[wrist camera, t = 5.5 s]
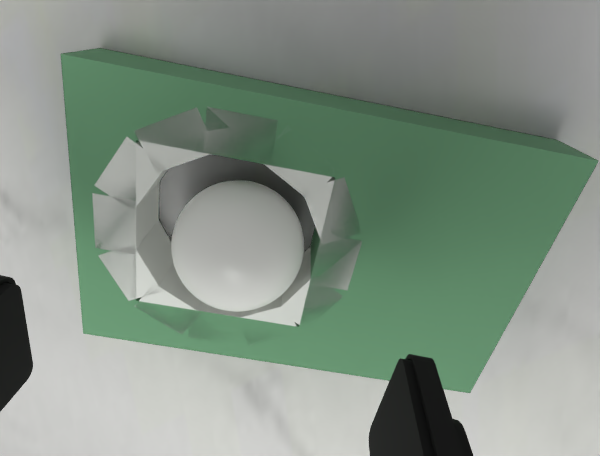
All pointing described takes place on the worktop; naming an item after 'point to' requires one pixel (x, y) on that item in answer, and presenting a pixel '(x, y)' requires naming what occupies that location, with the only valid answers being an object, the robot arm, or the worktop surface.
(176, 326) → the green flat slab
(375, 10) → the worktop surface
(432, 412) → the robot arm
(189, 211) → the ball
